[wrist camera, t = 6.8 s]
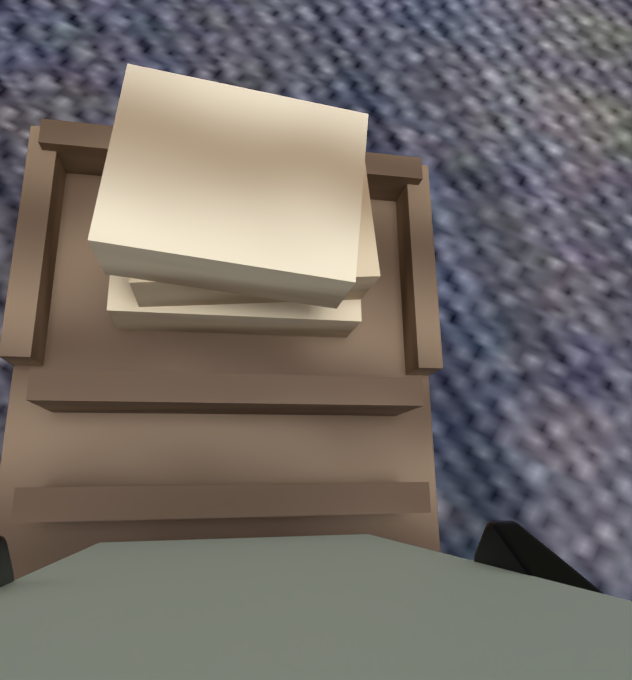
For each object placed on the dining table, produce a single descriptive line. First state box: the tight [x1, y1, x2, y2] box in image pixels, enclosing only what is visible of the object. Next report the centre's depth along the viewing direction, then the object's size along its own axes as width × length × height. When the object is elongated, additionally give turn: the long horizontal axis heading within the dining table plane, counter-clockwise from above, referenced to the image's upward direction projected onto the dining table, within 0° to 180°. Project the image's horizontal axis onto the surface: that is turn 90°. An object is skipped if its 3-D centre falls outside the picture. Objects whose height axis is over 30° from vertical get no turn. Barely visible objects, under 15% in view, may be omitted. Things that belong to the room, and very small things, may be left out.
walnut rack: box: [0, 119, 443, 580], centre depth 20 cm, size 18×16×4 cm
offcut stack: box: [88, 64, 380, 338], centre depth 19 cm, size 7×9×7 cm
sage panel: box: [0, 534, 632, 680], centre depth 8 cm, size 2×7×13 cm, turn 91°
